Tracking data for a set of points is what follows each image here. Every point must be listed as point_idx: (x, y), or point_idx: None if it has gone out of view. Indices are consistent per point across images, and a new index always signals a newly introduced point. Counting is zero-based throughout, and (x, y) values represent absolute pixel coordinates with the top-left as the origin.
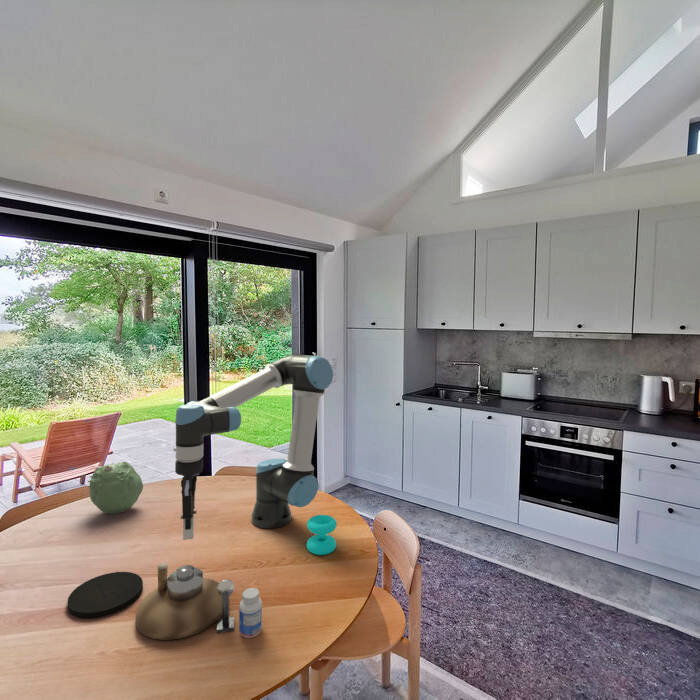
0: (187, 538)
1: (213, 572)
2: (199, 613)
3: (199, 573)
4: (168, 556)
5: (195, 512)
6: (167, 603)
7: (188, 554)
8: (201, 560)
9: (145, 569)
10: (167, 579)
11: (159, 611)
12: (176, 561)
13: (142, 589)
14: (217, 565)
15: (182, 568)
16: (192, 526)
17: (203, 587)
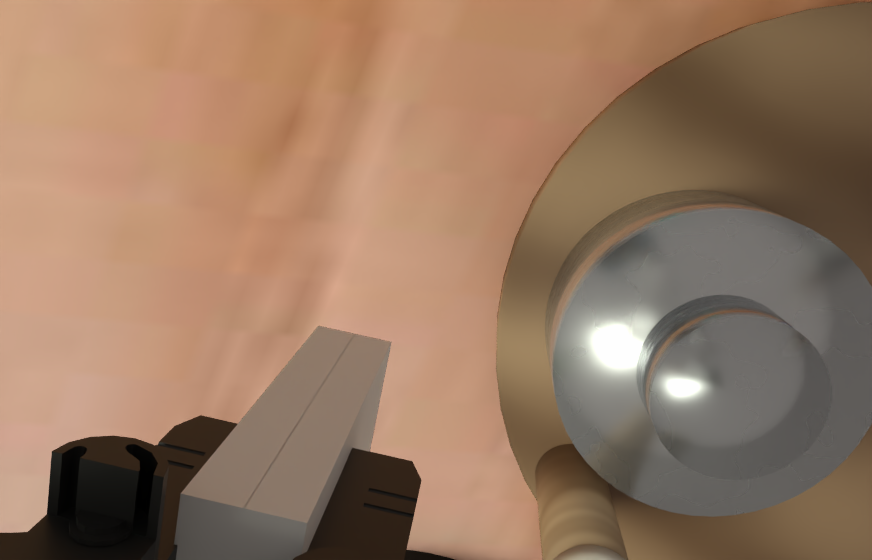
0: (376, 417)
1: (389, 53)
2: None
3: (730, 242)
4: (21, 368)
5: (152, 487)
6: None
7: (32, 220)
8: (162, 128)
9: None
10: (683, 513)
11: (852, 515)
12: (115, 318)
13: (420, 556)
14: (291, 3)
15: (702, 423)
16: (352, 431)
17: (712, 186)
